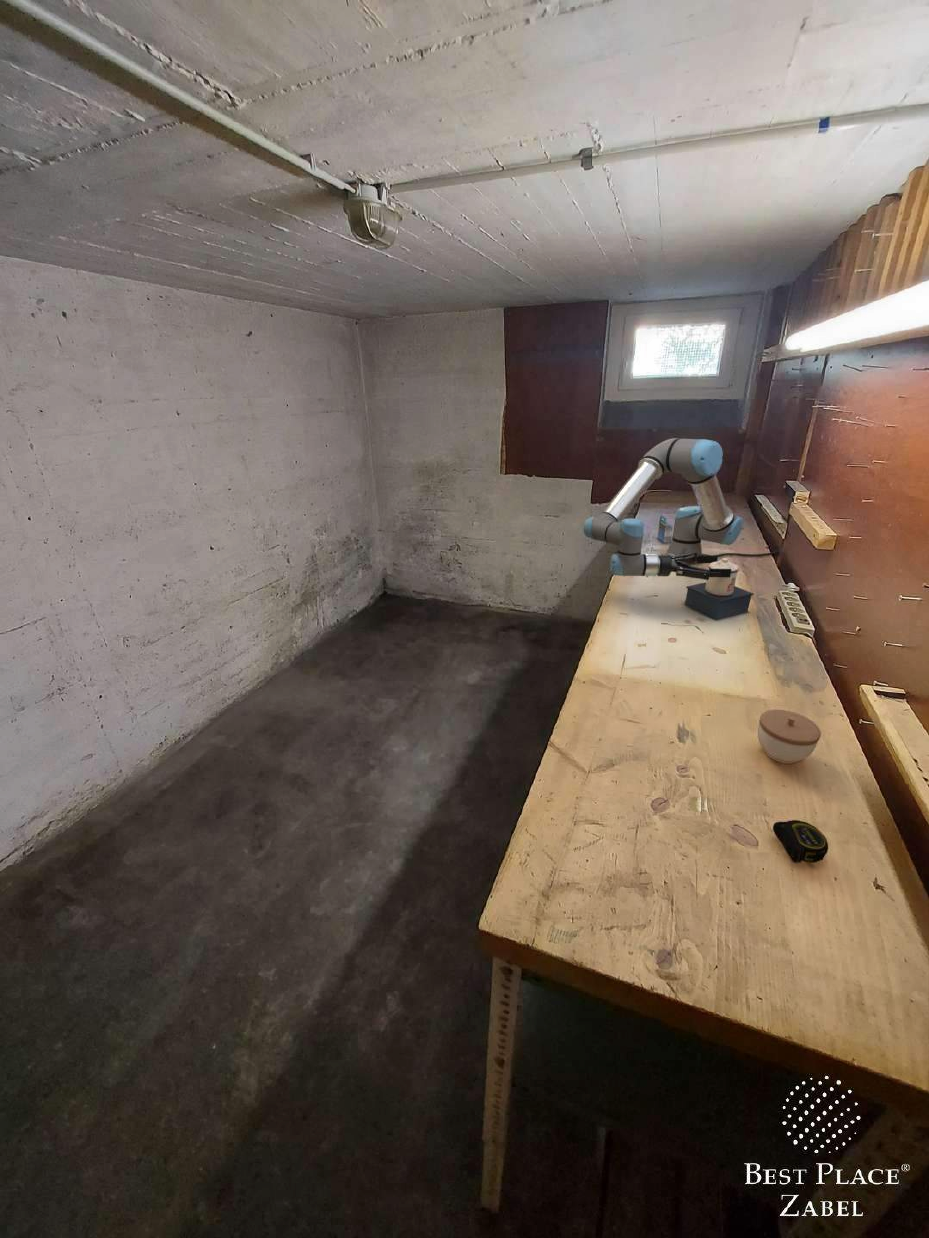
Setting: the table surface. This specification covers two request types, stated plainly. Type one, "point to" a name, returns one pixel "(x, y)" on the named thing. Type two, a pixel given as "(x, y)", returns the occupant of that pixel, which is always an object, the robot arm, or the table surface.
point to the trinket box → (787, 735)
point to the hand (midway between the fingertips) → (723, 566)
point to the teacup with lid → (722, 579)
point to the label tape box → (664, 530)
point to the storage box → (717, 601)
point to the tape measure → (801, 841)
